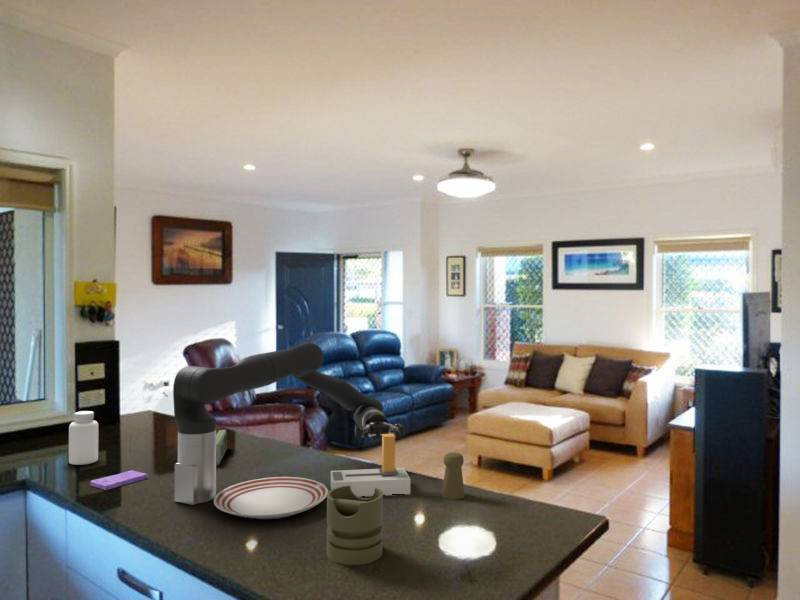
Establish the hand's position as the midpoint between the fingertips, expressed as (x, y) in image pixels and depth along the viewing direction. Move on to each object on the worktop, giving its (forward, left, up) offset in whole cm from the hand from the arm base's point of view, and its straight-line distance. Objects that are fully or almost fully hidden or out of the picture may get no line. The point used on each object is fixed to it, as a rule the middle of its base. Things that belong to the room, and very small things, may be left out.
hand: (382, 435), depth 175 cm
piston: (-47, -17, -12) cm, 52 cm away
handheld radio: (-7, +53, -12) cm, 55 cm away
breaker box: (-12, -2, -12) cm, 17 cm away
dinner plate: (-32, +14, -12) cm, 38 cm away
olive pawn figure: (-6, -24, -12) cm, 27 cm away
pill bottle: (-27, +87, -12) cm, 92 cm away
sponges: (-36, +62, -12) cm, 73 cm away
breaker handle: (-9, -6, -7) cm, 13 cm away
